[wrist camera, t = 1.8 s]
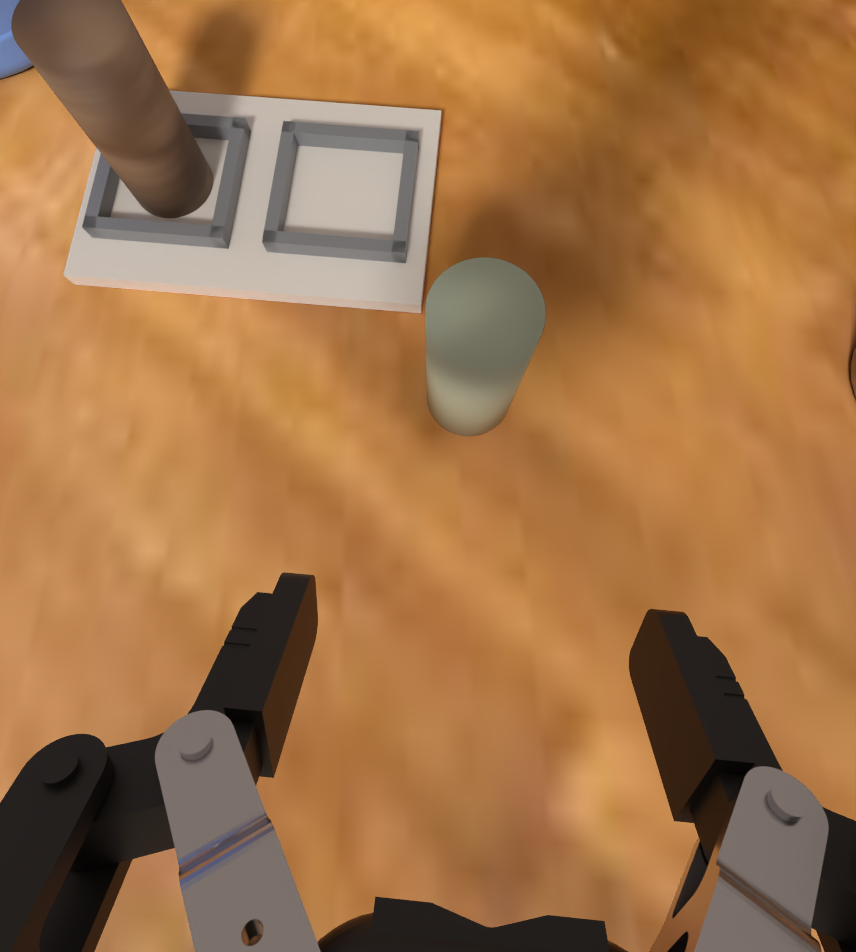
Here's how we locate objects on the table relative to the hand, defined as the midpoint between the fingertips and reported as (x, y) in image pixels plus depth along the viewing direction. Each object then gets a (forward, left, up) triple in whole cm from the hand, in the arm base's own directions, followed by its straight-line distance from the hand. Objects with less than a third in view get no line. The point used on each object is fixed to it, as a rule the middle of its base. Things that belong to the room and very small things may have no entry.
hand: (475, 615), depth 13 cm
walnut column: (0, -31, -16) cm, 35 cm away
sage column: (-8, -9, -17) cm, 20 cm away
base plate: (-4, -28, -17) cm, 33 cm away
